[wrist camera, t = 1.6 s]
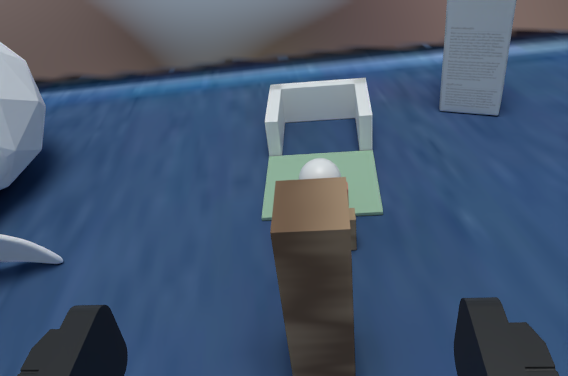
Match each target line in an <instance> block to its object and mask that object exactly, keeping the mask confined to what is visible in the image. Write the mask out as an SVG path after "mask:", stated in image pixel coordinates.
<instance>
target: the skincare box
mask: <svg viewBox="0 0 568 376" xmlns="http://www.w3.org/2000/svg"><path fill="white" fill-rule="evenodd" d="M515 6H516V0H447V11H446V27H445V40H444V54H443V66H442V79H441V92H440V106H439V109H440V111H448V112H460V113H472V114H484V115H499V110H500V105H501V99H502V92H503V86H504V79H505V73H506V66H507V59H508V52H509V46H510V39H511V32H512V25H513V18H514V11H515Z"/></svg>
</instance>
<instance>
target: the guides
mask: <svg viewBox="0 0 568 376" xmlns="http://www.w3.org/2000/svg"><path fill="white" fill-rule="evenodd" d="M349 218H350V230H351V250H357V246H356V217H355V208H349Z"/></svg>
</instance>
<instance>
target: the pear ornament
mask: <svg viewBox="0 0 568 376" xmlns="http://www.w3.org/2000/svg"><path fill="white" fill-rule="evenodd" d="M45 109H46V106H45V104H44V101H43V99H42V97H41V95H40V92H39V90H38V88H37V85H36V83H35V81H34V79H33V76H32V74H31V72H30V70H29V67H28V65H27V63H26V61H25V60H24V59H22V58H21V57H20V56H18V55H17V54H16V53H14V52H13V51H12V50H10V49H9V48H8V47H6V46H5V45H4V44H2V43H1V42H0V190H1V189H4V188H6V187H8V186H10V184H11V183H12V182H13V181H14V180H15V179H16V178H17V177H18V176H19V175H20V173H21V172H22V171H23V170H24V169H25V168H26V167H27V166H28V165H29V163H30V162H31V161H32V160H33V159H34V158H35V157H36V156H37V155H38V154H39V152H40V151H41V150H42V142H43V131H44V120H45ZM0 262H37V263H50V264H59V263H62V262H63V259H62V257H60V256H59V255H57V254H55V253H54V252H52V251H50V250H48V249H46V248H44V247H42V246H39V245H37V244H35V243H32V242H30V241H27V240H24V239H21V238H16V237H12V236H7V235H2V234H0Z"/></svg>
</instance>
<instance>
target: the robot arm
mask: <svg viewBox="0 0 568 376" xmlns="http://www.w3.org/2000/svg"><path fill="white" fill-rule="evenodd" d="M454 357H455V365H456V370H457V374H458V376H559V374H558V372H557V371H556V370H555V365H554V362H553V360H552V358H551V355H550V353H549V350H548V348H547V346H546V343H545V342H544V341H543V340H542V339H541V338H540V337H539V335H538V334H537V333H536V332H535V331H534V330H533V329H532V328H531V327H530V326H529V325H528V324H527V323H526V322H522V323H508V320H507V317H506V314H505V312H504V309H503V306H502V304H501V302H500V300H499V299H498V298H496V297H492V298H462V299H461V301H460V305H459V312H458V319H457V325H456V332H455V339H454ZM126 366H127V347H126V344H125V341H124V339H123V337H122V334H121V332H120V330H119V328H118V325H117V323H116V321H115V318H114V316H113V314H112V312H111V310H110V308H109V307H108V306H107V305H81V306H73V307H72V308H71V309H70V310H69V311H68V313H67V315H66V317H65V319H64V321H63V323H62V325H61V327H60V329H50V330H49V331H48V332H47V333H46V334H45V335H44V336H43V337H42V339H41V340H40V341H39V342H38V343H37V344H36V345H35V346H34V347H33V348H32V349H31V351H30V353H29V355H28V357H27V358H26V360H25V362H24V364H23V366H22V368H21V373H20V374H18V375H17V376H124V374H125V371H126Z"/></svg>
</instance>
